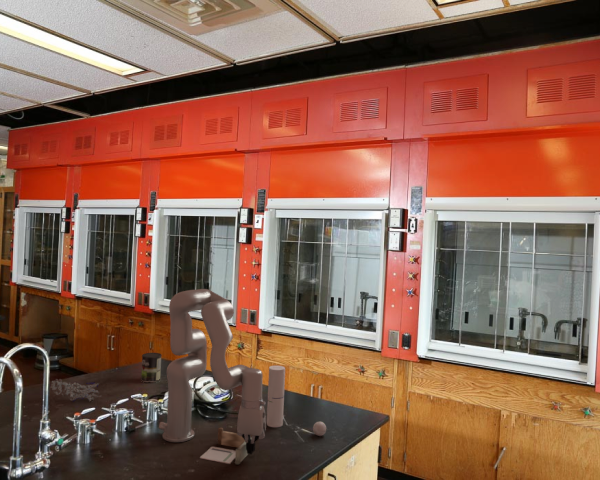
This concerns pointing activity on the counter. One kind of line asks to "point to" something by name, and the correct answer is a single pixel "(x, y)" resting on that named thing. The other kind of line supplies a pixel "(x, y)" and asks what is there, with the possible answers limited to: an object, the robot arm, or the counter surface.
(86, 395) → the dark piece
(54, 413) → the counter surface
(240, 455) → the cream flat slab
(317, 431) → the pinkish brown egg
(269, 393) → the cylindrical container
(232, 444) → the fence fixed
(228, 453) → the card
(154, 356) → the coffee can
